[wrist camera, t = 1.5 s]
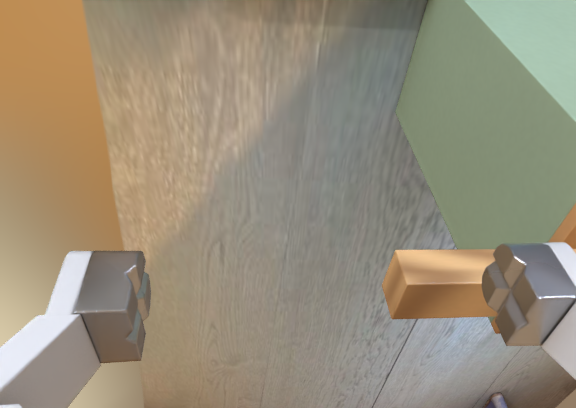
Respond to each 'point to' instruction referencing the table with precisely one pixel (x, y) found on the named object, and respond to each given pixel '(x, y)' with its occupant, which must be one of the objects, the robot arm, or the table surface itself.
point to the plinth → (496, 119)
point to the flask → (496, 401)
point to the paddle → (437, 283)
